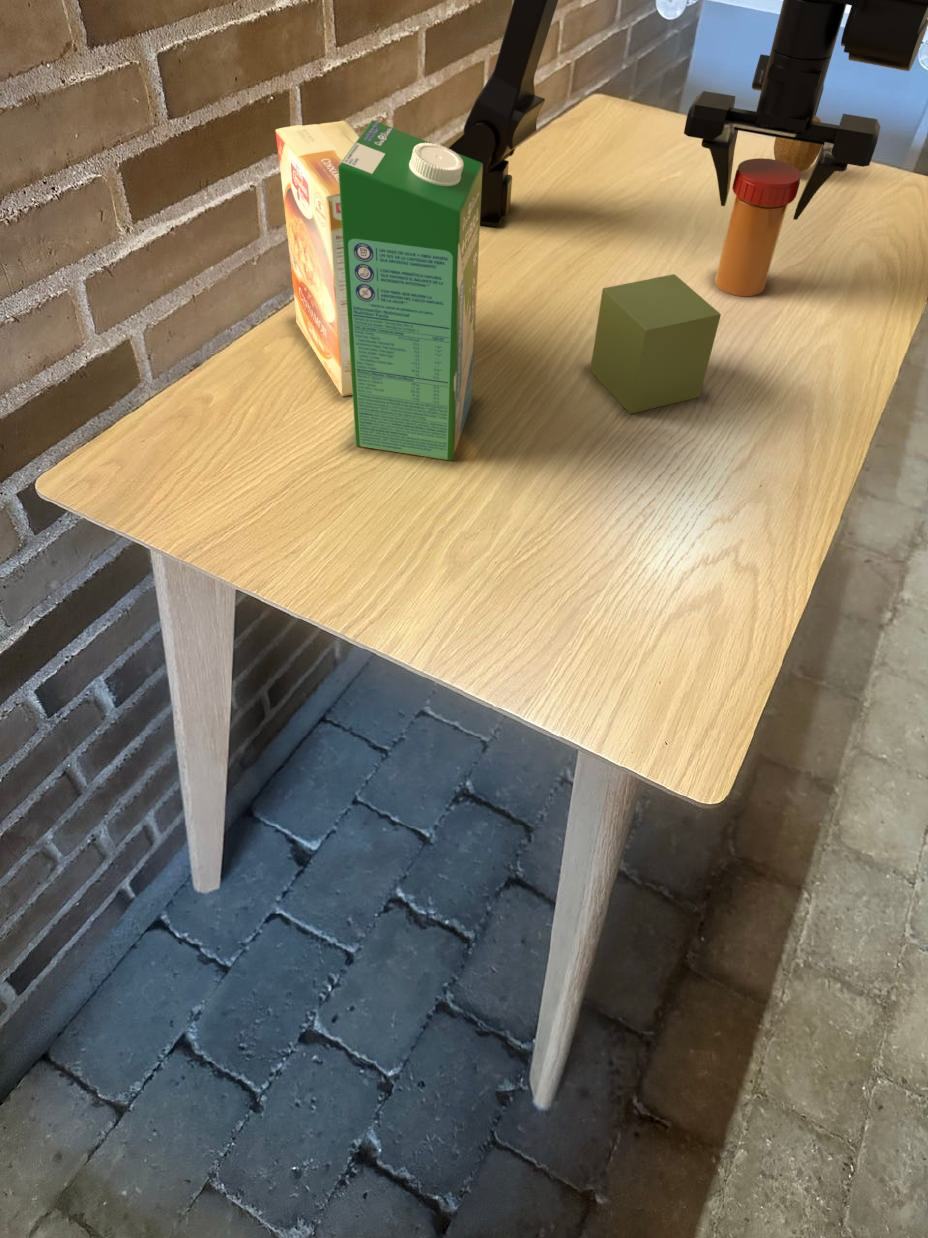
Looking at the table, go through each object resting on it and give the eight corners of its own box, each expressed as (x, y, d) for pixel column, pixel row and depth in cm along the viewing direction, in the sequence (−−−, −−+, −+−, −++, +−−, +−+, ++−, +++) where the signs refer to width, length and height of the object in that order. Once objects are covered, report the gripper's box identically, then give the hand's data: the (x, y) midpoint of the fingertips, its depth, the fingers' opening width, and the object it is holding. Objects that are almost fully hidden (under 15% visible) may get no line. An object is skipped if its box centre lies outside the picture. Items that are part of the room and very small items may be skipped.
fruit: (812, 167, 131) (831, 105, 125) (812, 185, 127) (831, 122, 121) (767, 161, 132) (783, 99, 126) (766, 179, 128) (782, 116, 122)
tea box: (589, 370, 95) (602, 287, 88) (657, 355, 97) (674, 273, 91) (629, 414, 90) (646, 330, 83) (699, 397, 92) (721, 314, 86)
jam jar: (713, 291, 107) (739, 184, 98) (716, 269, 110) (742, 164, 101) (762, 299, 106) (793, 192, 97) (764, 276, 110) (794, 171, 101)
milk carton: (452, 461, 84) (461, 178, 66) (355, 446, 85) (337, 163, 67) (471, 404, 90) (484, 130, 72) (380, 391, 91) (370, 117, 73)
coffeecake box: (294, 322, 99) (272, 126, 85) (357, 310, 101) (347, 117, 87) (339, 398, 90) (324, 194, 76) (408, 383, 92) (406, 182, 78)
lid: (796, 184, 102) (802, 162, 100) (794, 210, 98) (800, 188, 96) (734, 175, 103) (739, 154, 101) (729, 201, 99) (735, 178, 97)
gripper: (906, 40, 93) (853, 197, 105) (721, 13, 97) (689, 168, 109) (900, 75, 86) (844, 240, 98) (700, 44, 90) (668, 206, 102)
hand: (759, 211), depth 102 cm, fingers open, 7 cm apart
